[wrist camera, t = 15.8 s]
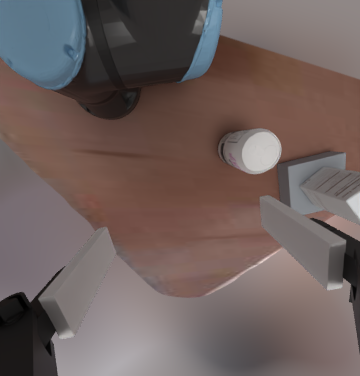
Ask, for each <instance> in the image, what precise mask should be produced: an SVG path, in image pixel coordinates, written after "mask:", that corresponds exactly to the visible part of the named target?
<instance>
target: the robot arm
mask: <svg viewBox="0 0 360 376" xmlns="http://www.w3.org/2000/svg"><path fill="white" fill-rule="evenodd" d="M221 5H222V0H0V57H1V58H2V59H3V61H4V62H5V63H6V64H7V65H8V66H9V67H11V68H12V69H13V70H14V71H15V72H17V73H18V74H20V75H21V76H23V77H24V78H26V79H28V80H30V81H32V82H33V83H35V84H36V85H38V86H40V87H43V88H46V89H48V90H53V91H55V92H58V93H60V94H63V95H65V96H68V97H70V98H73V99H75V100H76V101H77V102H78V103H79V104H80V105H81V107H82V108H84V109H85V110H86V111H87V112H89V113H90V114H92V115H94V116H97V117H100V118H103V119H108V120H114V119H119V118H122V117H124V116H126V115H128V114H129V113H130V112H131V111H132V110H133V109H134V108H135V106H136V104H137V102H138V100H139V97H140V91H141V87H142V86H149V85H156V84H163V83H170V82H176V83H181V82H183V81H184V80H189V79H194V78H198V77H200V76H202V75H203V74H204V73H205V72H206V71H207V70H208V68H209V67H210V65H211V63H212V60H213V58H214V55H215V51H216V48H217V44H218V39H219V34H220V28H221V22H222V11H223V10H222V8H221ZM260 209H261V223H262V227H263V228H264V229H265V230H266V231H267V232H268V233H269V234H270V235H271V236H272V237H273V238H274V239H275V240H276V241H277V242H278V243H279V244H280V245H281V246H283V247H284V248H285V249H286V250H287V251H288V252H289V253H290V254H291V255H292V256H293V257H294V258H295V259H296V260H297V261H298V262H299V263H300V264H301V265H302V266H303V267H304V268H305V269H306V270H307V271H308V272H309V273H310V274H311V275H312V276H313V277H314V278H315V279H316V280H317V281H318V282H319V283H320V284H321V285H322V286H323V287H324V288H325V289H326V290H332V289H338V288H342V286H343V278H344V279H346V280H347V281H348V282H349V283H350V284H351V290H350V299H349V302H351V303H353V311H354V318H355V324H356V331H357V338H358V345H359V352H360V241H358V240H356V239H354V238H352V237H350V236H349V235H347V234H345V233H343V232H341V231H340V230H337V229H336V228H334V227H332V226H330V225H329V224H327V223H325V222H323V221H321V220H317V219H314V218H311V219H309V218H307V217H305V216H304V215H302V214H300V213H299V212H297V211H295V210H293V209H292V208H290V207H288V206H287V205H285V204H283V203H281V202H280V201H278V200H276V199H275V198H273V197H271V196H269V195H267V196H261V197H260ZM115 256H116V252H115V249H114V246H113V243H112V240H111V237H110V235H109V232H108V229H107V227H103V228H98V229H97V230H96V232H95V233H94V234H93V235H92V236H91V238H90V239H89V240H88V241H87V242H86V243H85V244H84V246H83V247H82V248H81V249H80V250H79V251H78V253H77V254H76V255H75V256H74V257H73V258H72V260H71V261H70V262H69V263H68V264H67V265H66V266H65V267H63V268H62V269H61V270H60V271H58V272H57V273H56V274H55V276H54V277H53V278H52V279H51V280H50V281H49V282H48V283H47V285H46V286H45V287H44V288H43V289H42V290H41V291H40V292H39V293H38V295H37V296H36V297H35V298H34V299H33V300H32V302H31V303H30V302H29V301H28V299H27V297H26V295H25V294H24V293H23V292H19V293H16V294H13V295H11V296H9V297H7V298H5V299H4V300H2V301H1V302H0V376H58V375H57V366H56V359H55V352H54V344H53V342H52V341H51V338H52V336H53V335H54V333H55V331H56V332H57V334H58V336H59V337H60V339H64V338H69V337H74V336H75V335H76V333H77V330H78V329H79V327H80V325H81V323H82V321H83V319H84V317H85V315H86V313H87V311H88V309H89V307H90V305H91V303H92V301H93V299H94V297H95V295H96V293H97V291H98V289H99V287H100V285H101V283H102V281H103V279H104V277H105V275H106V273H107V271H108V269H109V268H110V265H111V263H112V261H113V260H114V258H115Z"/></svg>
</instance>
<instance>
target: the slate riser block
mask: <svg viewBox="0 0 360 376" xmlns="http://www.w3.org/2000/svg"><path fill="white" fill-rule="evenodd" d="M345 161H346V153H344V152H331V151H329V152H325V153H321V154H317V155H313V156H309V157H305V158H301V159H296V160H292V161H288V162H284V163H280V164H277V169H278V180H279V192H280V202H281V203H283V204H285V205H287V206H288V207H290V208H292V209H293V210H295V211H297V212H299V213H300V214H302V215H305V214H310V213H314V212H318V211H322V210H324V209H321V208H319V207H317V206H315V205H313V203H312V202H311V201H310V199H309V198H308V197H307V196H306V194H305V193H304V192H303V190H302V189H301V188H300V185H301V184H302V183H304V182H305V181H306V180H307V179H309V178H310V177H311V176H312V175H314V174H315V173H316V172H318V171H319V170H320V169H321V168H323V167H329V168H336V169H342V170H345Z"/></svg>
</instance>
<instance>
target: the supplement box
mask: <svg viewBox="0 0 360 376" xmlns="http://www.w3.org/2000/svg"><path fill="white" fill-rule="evenodd" d="M300 188H301V189H302V190H303V192H304V193H305V194H306V196H307V197H308V198H309V199H310V201H311V202H312V203H313V205H315V206H317V207H319V208H321V209H324V210H326V211H328V212H331V213H333V214H335V215H338V216H340V217H343V218H345V219H347V220H349V221H351V222H354V223H356V224H358V225H360V172H356V171H349V170H342V169H336V168H329V167H323V168H321V169H320V170H319V171H318V172H316V173H315V174H314V175H312V176H311V177H310V178H309V179H307V180H306V181H305V182H304V183H302V184H301V185H300Z"/></svg>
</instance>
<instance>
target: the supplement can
mask: <svg viewBox="0 0 360 376" xmlns="http://www.w3.org/2000/svg"><path fill="white" fill-rule="evenodd" d="M218 153H219V157H220V158H221V159H222V161H223V162H225V163H227V164H229V165H231V166H233V167H235V168H238V169H240V170H242V171H244V172H246V173H250V174H259V173H263V172H265V171H267V170H269V169H271V168H273V166H274V165H275V164H276V163H277V162H278V160H279V158H280V156H281V144H280V141H279V140H278V138H277V137H276V136H275V134H274V133H272V132H271V131H269V130H267V129H261V128H258V129H251V130H243V131H236V132H231V133H228V134H226V135H225V136H224V137H223V138H222V139H221V140H220V143H219V145H218Z"/></svg>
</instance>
